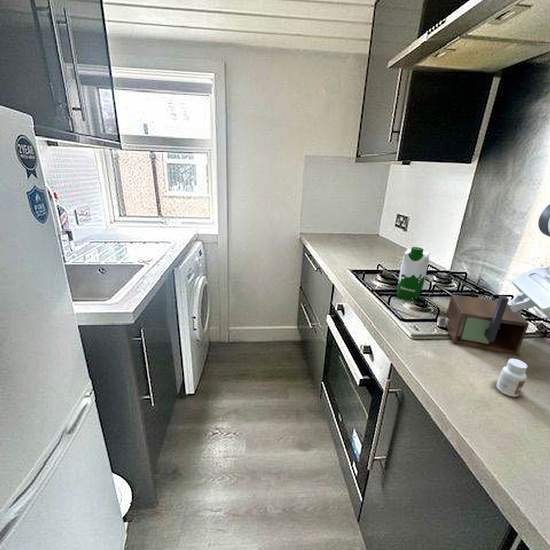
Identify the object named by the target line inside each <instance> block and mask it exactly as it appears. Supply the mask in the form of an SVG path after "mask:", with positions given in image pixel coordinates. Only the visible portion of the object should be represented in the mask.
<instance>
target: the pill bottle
mask: <svg viewBox="0 0 550 550" xmlns="http://www.w3.org/2000/svg"><path fill="white" fill-rule="evenodd" d="M527 369H528V364H527V363H525V362H524V361H523V360H520V359H517V358H509V359H508V361H507V362H506V365H505V366H503V367H502V369H501V371H500V375H499V377H498V380H497V383H496V388H497V390H498V391H499V392H500V393H502V394H504V395H506V396H509V397H519V396H520V394H521V391H522V389H523V387H524V384H525V382H526V379H527V374H526V373H527Z"/></svg>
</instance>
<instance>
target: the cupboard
mask: <svg viewBox="0 0 550 550" xmlns="http://www.w3.org/2000/svg"><path fill="white" fill-rule="evenodd" d="M449 299H450V300H449V303H448V307H447V310H446V311H447V312H446V314H445V318H446V317H447V318H448V319H449V324H448V325H446V324H445V326H446V329H447V331H448V334H449V336H450V339H451V341H452V343H453V344H454V345H455V344H456V345H461V346H466V347H471V348H477V349H483V350H487V351H494V352H500V353H505V354H511V355H516V356H517V355H518V354H519V351H520V350H521V349H520V348H521V346H522V344H523V341H524V338H525V336H526V333H527V330H528V329H529V325H530V323H529V322H528V321H527V320H526V318H525V317H524V316H523V315H522V314H521V313H520V312H519V311H517V312H513V311H512V310H511V309H510V308H509V307H508V306H506V309H505V311H504V314H503V317H502V320H501V323H500V326H499V328H500V329H498V332H497V335H496V337H495V340H494V342H492V341H489V343H488V344H486V343H480V342H475V341H469V340H464V339H461V335H462V332H463V329H464V325H465V322H466V318H467V317H470V318H476V319H482V320H489V321H491V320H492V317H493V314H494V311H495V308H496V305H497V302H498V300H494V299H487V298H480V297H474V296H466V295H461V294H460V295H459V294H453V293H452V294H451V296H450V298H449Z"/></svg>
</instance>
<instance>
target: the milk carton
mask: <svg viewBox="0 0 550 550" xmlns="http://www.w3.org/2000/svg"><path fill="white" fill-rule="evenodd" d="M429 263H430V251H425V250H424V248H423V247H419V246H412V247H411V248H408V249H406V251H405V252H404V254H403V257H402V261H401V265H400V271H399V276H398V281H397V291H396V298H398V299H403V300H406V301H410V302H414V303H415V302H417V300H418V299H417V300H415V299H412V298H414V297H418V298H419V296H420V294H421V292H422V290H423V288H424V285H425V279H426V275H427V271H428V266H429Z"/></svg>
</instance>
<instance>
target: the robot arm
mask: <svg viewBox="0 0 550 550" xmlns="http://www.w3.org/2000/svg"><path fill="white" fill-rule="evenodd" d="M537 226H538V228H539V231H540V233H542V234H543V235H545V236H547V237H549V238H550V203H549V204H548V205H546V207H545V208H544V209H543V210H542V212H541V213H540V215H539V217H538V223H537ZM510 282H511V284H512V285H513V286H514V287H515V288H516V290H517V291H519V293H517V294H516V295H515V296H513V298H512V299H511V300H508V303H507V306H508V307H509V308H510V309H511V310H512V311H513V312H517V311H518V312H519V311H521V310H528V309H529V310H530V309H532V308H534V307H536V308H537V309H538V310H539V311H540V312H541V313H542V315H544V316H546V317H547V319H548V320H550V266H547V267H535V268H532V269H530V270H527V271H524V272H522V273H521V274H519V275H517V276H515V277H513V278H512V279H511V281H510Z"/></svg>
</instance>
